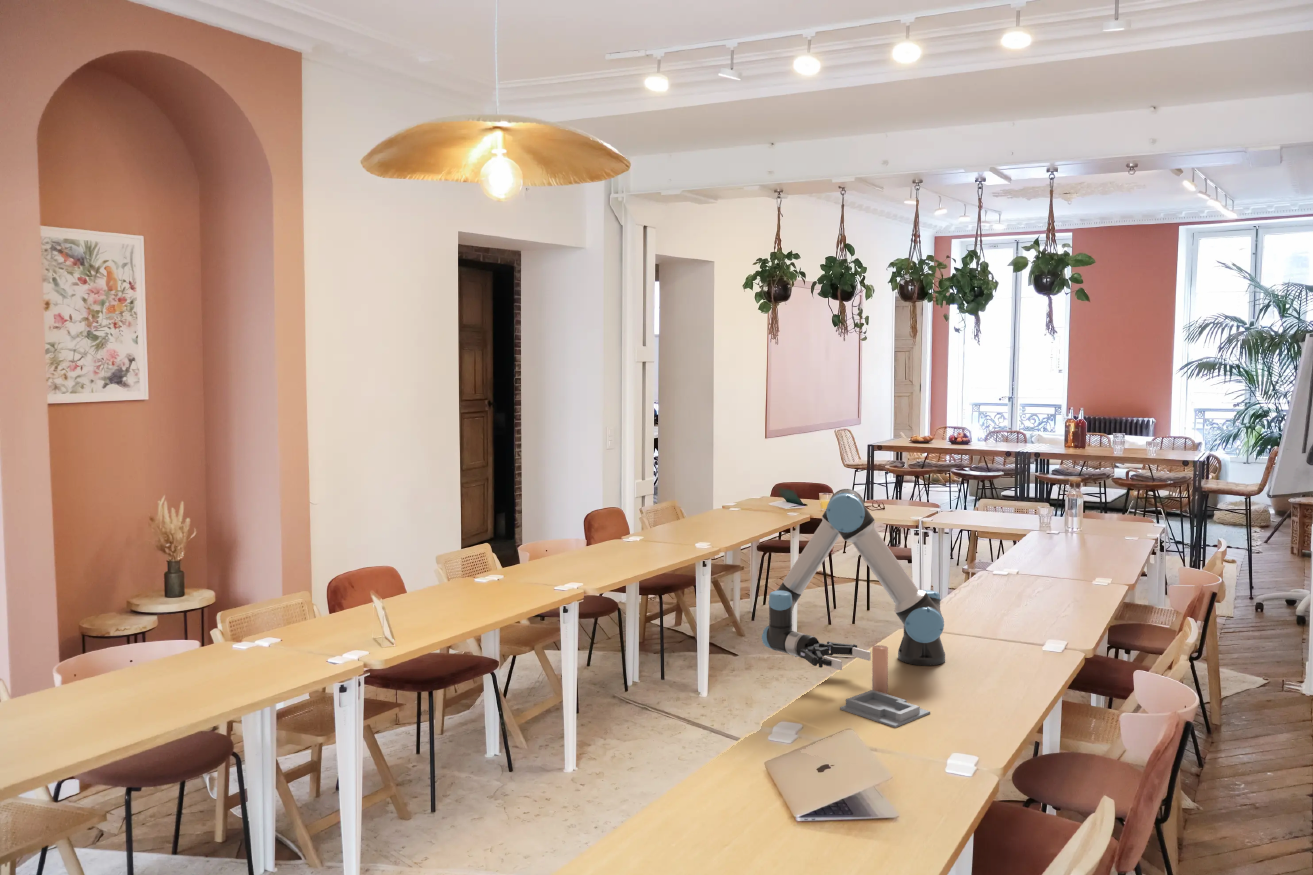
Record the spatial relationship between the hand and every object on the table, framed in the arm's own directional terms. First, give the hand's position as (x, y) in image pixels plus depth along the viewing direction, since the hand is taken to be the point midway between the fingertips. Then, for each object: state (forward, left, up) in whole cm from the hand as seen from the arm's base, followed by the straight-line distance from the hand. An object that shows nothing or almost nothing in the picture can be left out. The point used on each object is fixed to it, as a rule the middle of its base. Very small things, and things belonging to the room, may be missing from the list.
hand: (855, 660), depth 297 cm
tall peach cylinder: (0, +9, -8) cm, 12 cm away
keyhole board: (+11, +19, -8) cm, 23 cm away
